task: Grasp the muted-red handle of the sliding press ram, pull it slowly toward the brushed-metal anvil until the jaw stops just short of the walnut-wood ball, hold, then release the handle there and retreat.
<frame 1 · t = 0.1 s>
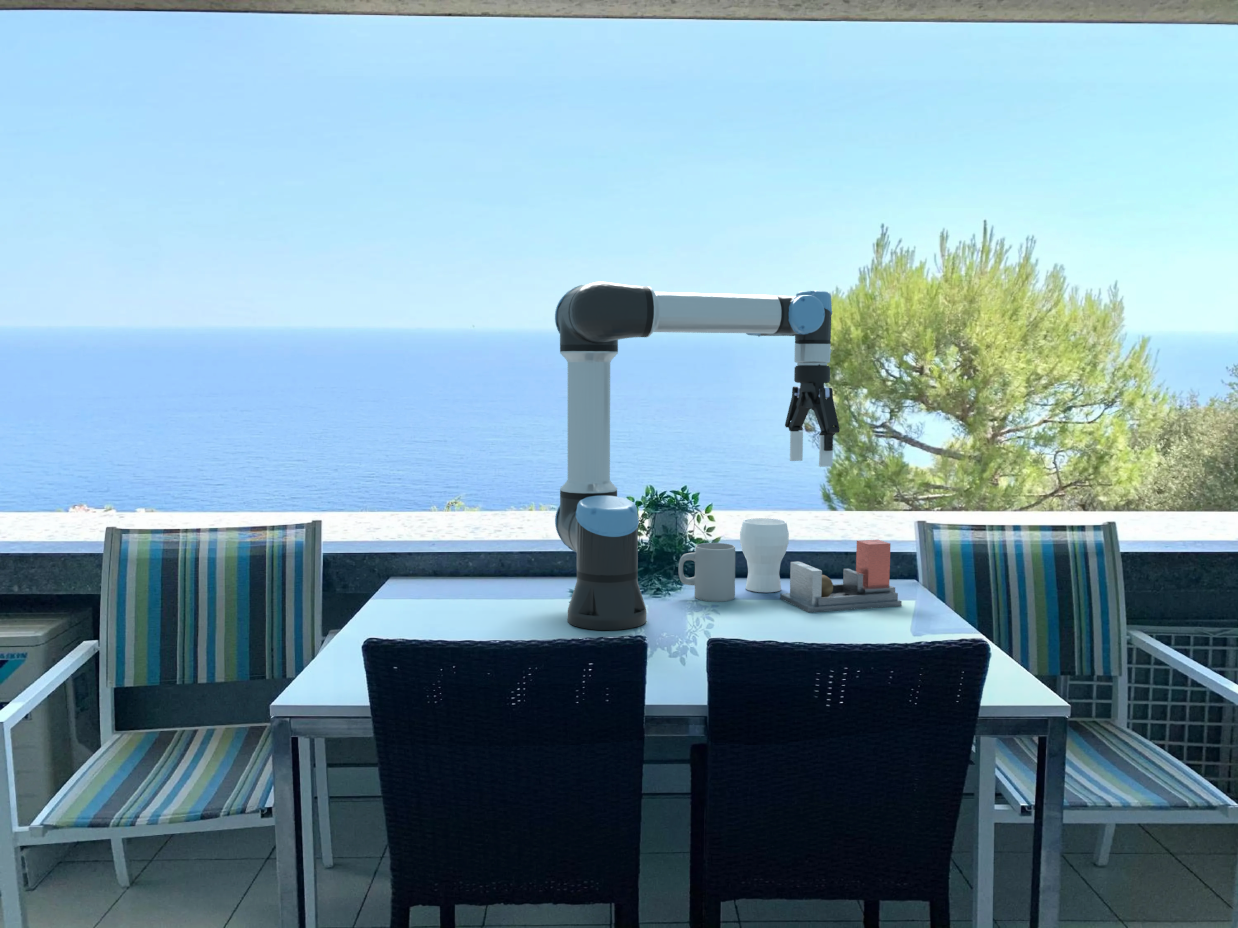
hand: (810, 463, 221), 28 cm above the table, fingers open, 13 cm apart
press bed: (839, 602, 213), on the table
nut: (820, 603, 212), resting on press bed
ram: (868, 568, 215), point 7 cm above the table, slide at 0.0 cm
cup: (763, 589, 226), on the table
mug: (706, 598, 218), on the table
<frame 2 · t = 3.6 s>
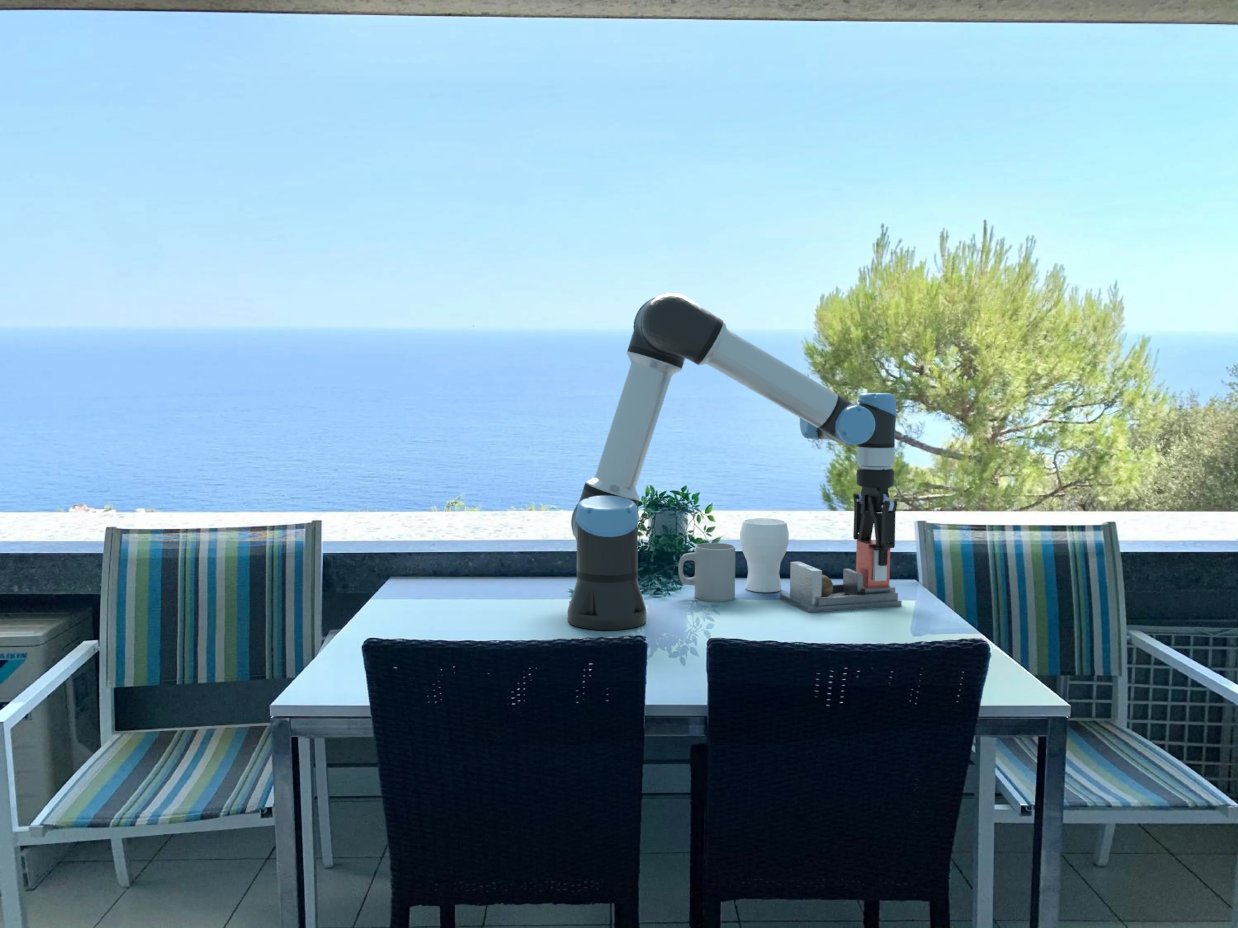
hand: (872, 577, 215), 5 cm above the table, fingers closed on ram, 5 cm apart
ram: (868, 568, 215), point 7 cm above the table, slide at 0.0 cm, touching gripper
everything else where it was.
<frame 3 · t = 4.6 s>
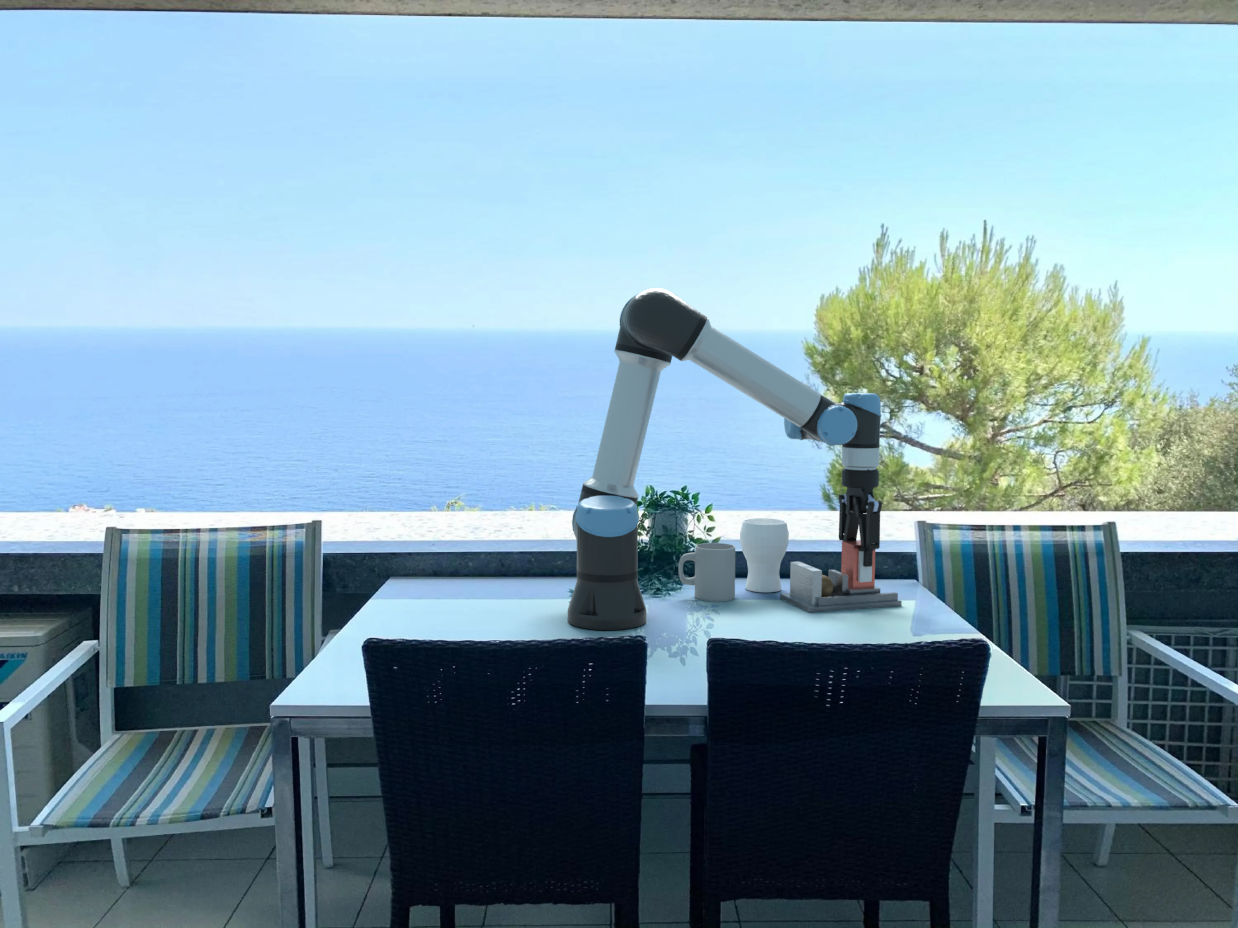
hand: (857, 578, 214), 5 cm above the table, fingers closed on ram, 5 cm apart
ram: (853, 569, 214), point 7 cm above the table, slide at 3.5 cm, touching gripper
everything else where it was.
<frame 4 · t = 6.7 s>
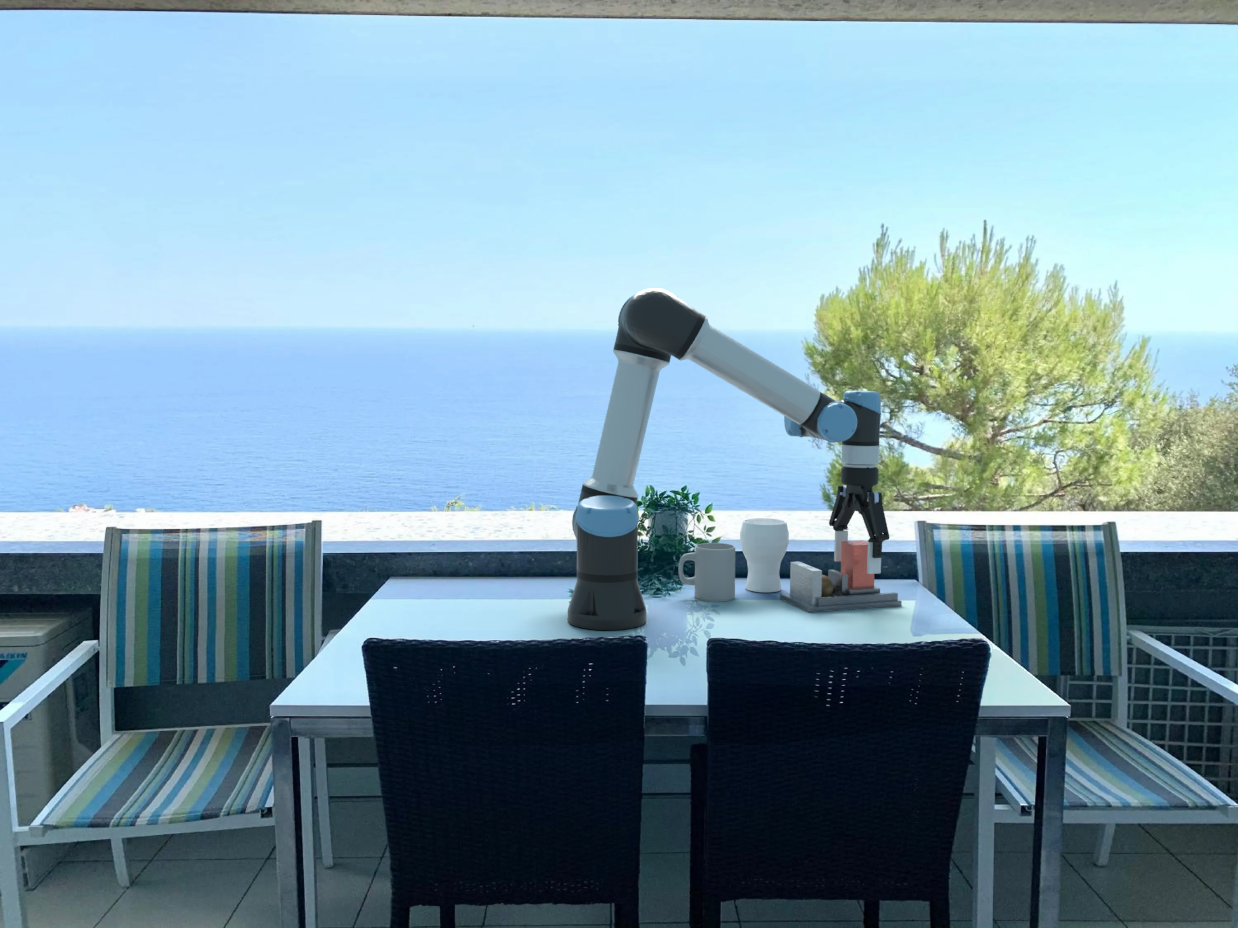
hand: (856, 567, 214), 7 cm above the table, fingers open, 13 cm apart
ram: (852, 569, 213), point 7 cm above the table, slide at 3.6 cm
everything else where it was.
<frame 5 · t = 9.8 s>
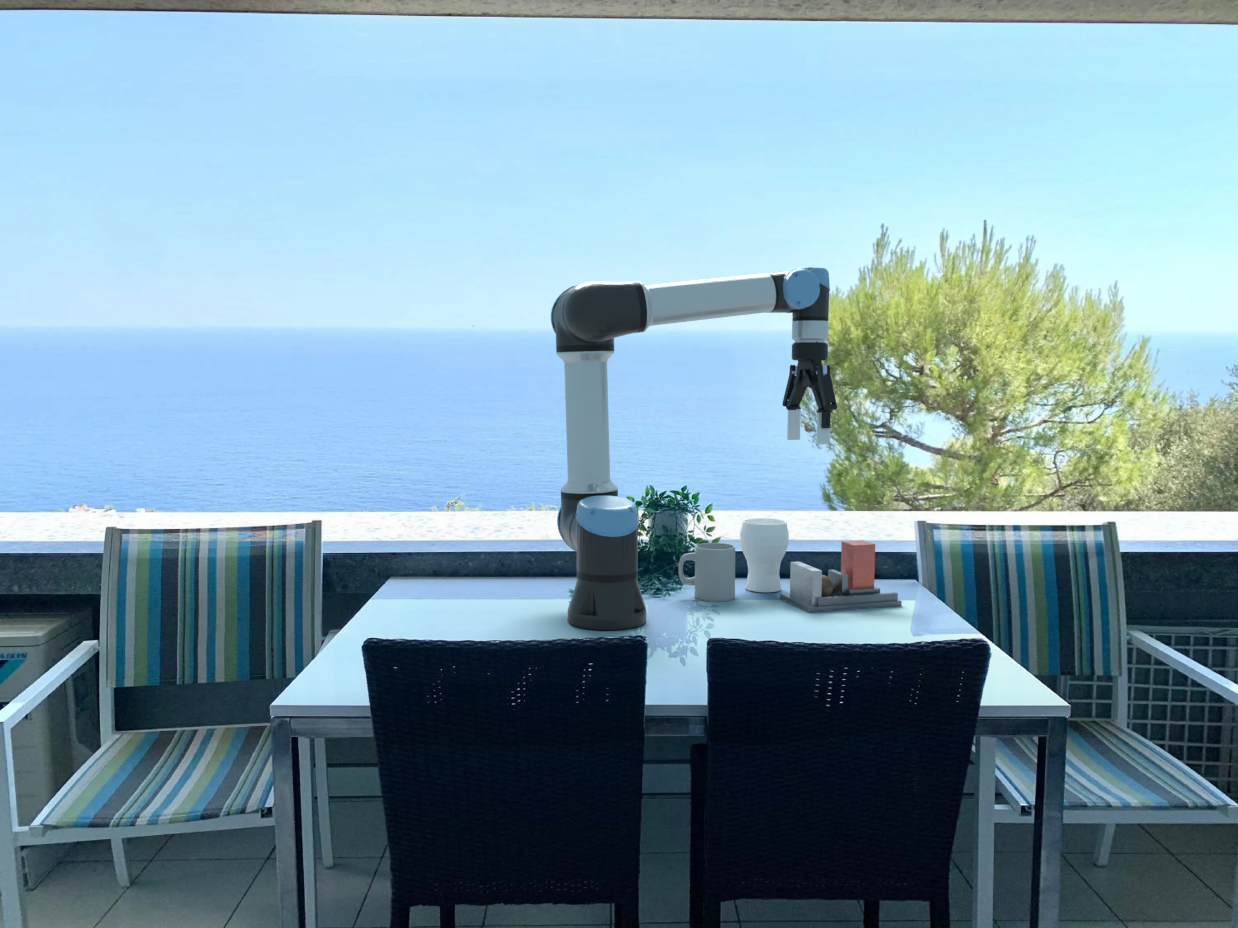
hand: (807, 442, 219), 33 cm above the table, fingers open, 13 cm apart
nothing on the table moved.
at the end: ram slide at 3.6 cm; the gripper is holding nothing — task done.
